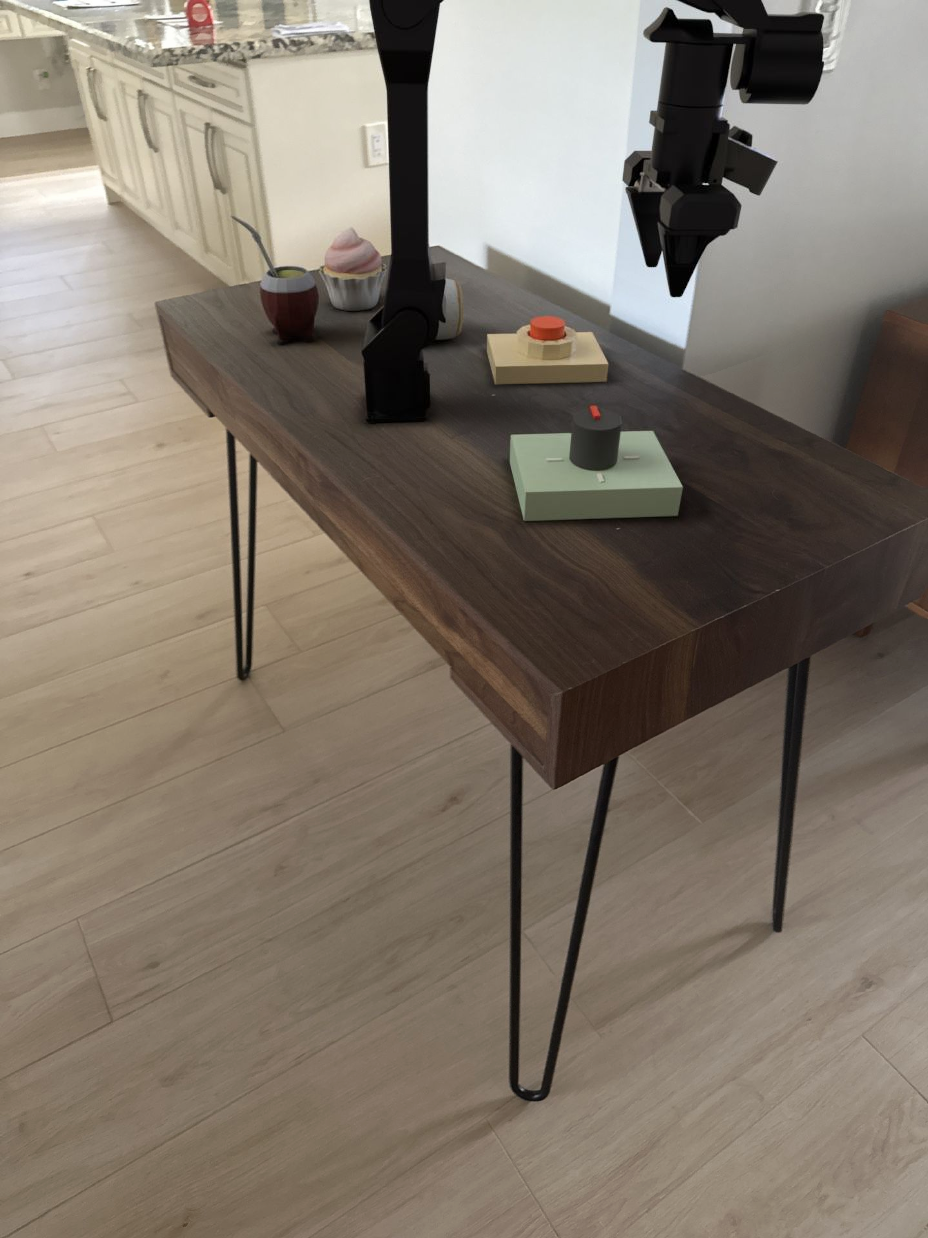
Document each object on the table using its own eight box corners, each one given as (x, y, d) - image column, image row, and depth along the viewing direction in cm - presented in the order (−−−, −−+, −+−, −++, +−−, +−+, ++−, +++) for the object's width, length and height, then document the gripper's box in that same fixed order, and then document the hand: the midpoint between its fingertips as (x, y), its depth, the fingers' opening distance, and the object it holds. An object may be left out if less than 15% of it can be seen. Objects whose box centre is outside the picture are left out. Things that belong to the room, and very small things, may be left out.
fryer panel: (523, 521, 80) (525, 490, 78) (509, 462, 89) (510, 432, 87) (677, 516, 81) (683, 485, 79) (648, 457, 90) (653, 428, 88)
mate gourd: (332, 332, 116) (321, 207, 106) (296, 353, 110) (282, 223, 101) (284, 322, 118) (270, 199, 109) (247, 342, 113) (229, 214, 103)
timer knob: (621, 469, 81) (627, 426, 79) (573, 471, 81) (577, 427, 78) (611, 447, 85) (616, 404, 82) (565, 448, 84) (569, 405, 82)
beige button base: (495, 384, 103) (496, 350, 101) (486, 351, 111) (487, 319, 109) (606, 381, 104) (610, 348, 102) (590, 348, 112) (593, 317, 109)
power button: (532, 343, 104) (532, 328, 102) (527, 330, 107) (528, 316, 106) (566, 342, 104) (567, 327, 103) (560, 329, 107) (561, 315, 106)
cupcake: (403, 302, 125) (400, 226, 118) (356, 320, 119) (351, 241, 113) (354, 288, 129) (349, 214, 123) (307, 305, 123) (299, 228, 117)
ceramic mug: (465, 346, 112) (465, 283, 107) (400, 350, 111) (397, 287, 106) (450, 318, 120) (450, 258, 116) (389, 322, 119) (386, 261, 114)
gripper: (819, 122, 73) (775, 312, 83) (743, 86, 88) (713, 252, 97) (686, 121, 72) (657, 314, 82) (631, 85, 87) (612, 253, 97)
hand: (663, 281), depth 89 cm, fingers open, 9 cm apart
